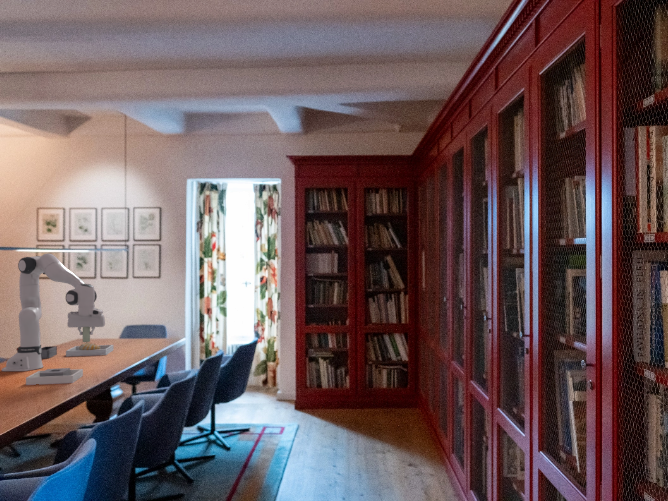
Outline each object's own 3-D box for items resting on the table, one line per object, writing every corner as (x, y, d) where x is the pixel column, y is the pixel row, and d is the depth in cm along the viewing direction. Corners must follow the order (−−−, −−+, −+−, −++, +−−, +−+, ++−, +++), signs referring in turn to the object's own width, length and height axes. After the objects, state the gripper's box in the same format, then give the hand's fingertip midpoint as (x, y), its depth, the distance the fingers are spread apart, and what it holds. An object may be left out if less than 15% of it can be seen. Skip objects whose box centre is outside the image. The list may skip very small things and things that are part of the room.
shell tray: (65, 356, 374) (65, 350, 374) (75, 351, 394) (75, 346, 395) (106, 355, 378) (106, 349, 378) (113, 350, 399) (113, 344, 399)
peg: (81, 342, 310) (81, 326, 310) (83, 341, 314) (83, 326, 314) (88, 342, 311) (89, 326, 311) (90, 341, 315) (90, 325, 315)
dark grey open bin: (36, 358, 365) (36, 350, 366) (44, 354, 381) (44, 346, 381) (48, 358, 367) (48, 349, 367) (56, 354, 383) (56, 346, 383)
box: (25, 385, 288) (25, 374, 288) (38, 377, 305) (38, 368, 306) (72, 382, 292) (72, 372, 292) (82, 375, 309) (82, 366, 310)
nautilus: (81, 351, 394) (103, 351, 398) (75, 354, 374) (98, 354, 378) (82, 341, 395) (103, 341, 399) (76, 343, 374) (99, 343, 378)
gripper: (65, 312, 308) (65, 335, 307) (103, 311, 311) (102, 335, 311) (69, 311, 314) (69, 334, 314) (105, 310, 317) (105, 333, 317)
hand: (86, 334), depth 312 cm, fingers closed on peg, 4 cm apart
